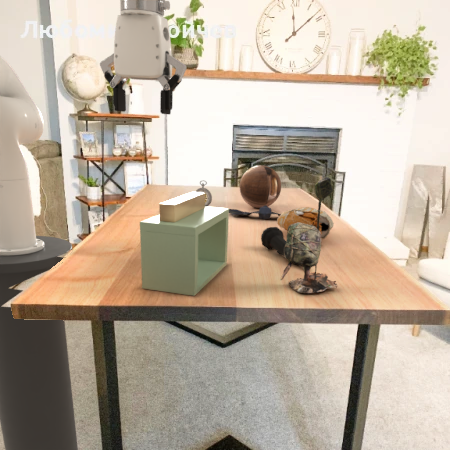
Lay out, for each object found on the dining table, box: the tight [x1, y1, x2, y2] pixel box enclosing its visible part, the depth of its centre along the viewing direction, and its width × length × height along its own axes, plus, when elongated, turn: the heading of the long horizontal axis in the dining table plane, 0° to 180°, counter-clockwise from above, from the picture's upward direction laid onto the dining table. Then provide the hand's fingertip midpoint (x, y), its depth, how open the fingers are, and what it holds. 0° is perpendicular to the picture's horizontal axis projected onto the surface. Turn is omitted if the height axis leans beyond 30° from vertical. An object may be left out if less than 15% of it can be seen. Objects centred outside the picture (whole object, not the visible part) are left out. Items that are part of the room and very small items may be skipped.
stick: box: [158, 191, 206, 222], centre depth 82 cm, size 3×16×3 cm, turn 164°
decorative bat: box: [229, 205, 282, 220], centre depth 144 cm, size 30×4×10 cm
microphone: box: [260, 226, 303, 268], centre depth 101 cm, size 6×6×20 cm
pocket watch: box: [194, 180, 213, 207], centre depth 150 cm, size 8×8×10 cm
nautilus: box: [276, 206, 335, 240], centre depth 118 cm, size 8×22×15 cm
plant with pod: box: [280, 176, 338, 294], centre depth 79 cm, size 8×11×20 cm
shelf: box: [139, 206, 230, 297], centre depth 85 cm, size 10×20×12 cm, turn 164°
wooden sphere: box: [239, 164, 282, 209], centre depth 160 cm, size 15×15×15 cm
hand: (142, 112), depth 85 cm, fingers open, 9 cm apart
